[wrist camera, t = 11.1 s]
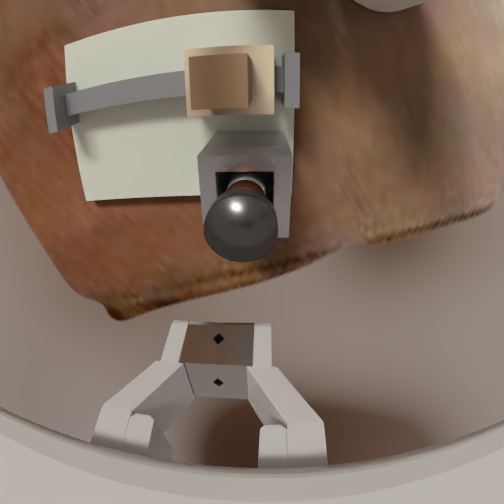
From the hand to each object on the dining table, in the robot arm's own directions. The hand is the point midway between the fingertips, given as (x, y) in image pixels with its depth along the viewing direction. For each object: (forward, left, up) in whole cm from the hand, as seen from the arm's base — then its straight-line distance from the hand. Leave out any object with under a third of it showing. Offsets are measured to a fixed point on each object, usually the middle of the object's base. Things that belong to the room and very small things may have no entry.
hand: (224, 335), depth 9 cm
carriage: (+1, -7, -18) cm, 19 cm away
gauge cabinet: (0, 0, -20) cm, 20 cm away
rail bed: (+6, -5, -20) cm, 21 cm away
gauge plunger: (0, 0, -15) cm, 15 cm away
